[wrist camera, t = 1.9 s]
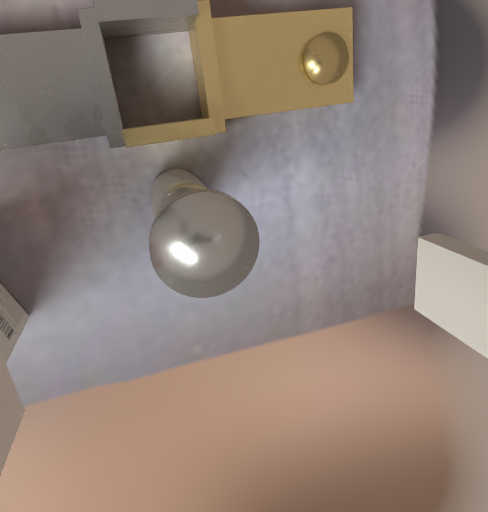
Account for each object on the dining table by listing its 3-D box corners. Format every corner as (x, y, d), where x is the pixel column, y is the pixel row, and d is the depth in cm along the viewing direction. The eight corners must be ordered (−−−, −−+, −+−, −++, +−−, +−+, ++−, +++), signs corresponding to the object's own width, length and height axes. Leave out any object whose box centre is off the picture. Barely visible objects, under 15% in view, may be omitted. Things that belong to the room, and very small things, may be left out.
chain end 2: (99, 20, 24) (92, -1, 20) (337, 2, 27) (373, -19, 23) (127, 143, 27) (126, 147, 23) (340, 113, 30) (372, 112, 26)
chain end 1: (-100, 35, 22) (-154, 15, 18) (186, 13, 25) (196, -7, 21) (-48, 167, 24) (-84, 177, 20) (204, 132, 28) (216, 134, 24)
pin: (136, 167, 27) (138, 203, 16) (204, 157, 28) (253, 183, 17) (150, 233, 29) (162, 308, 18) (214, 221, 30) (264, 284, 19)
